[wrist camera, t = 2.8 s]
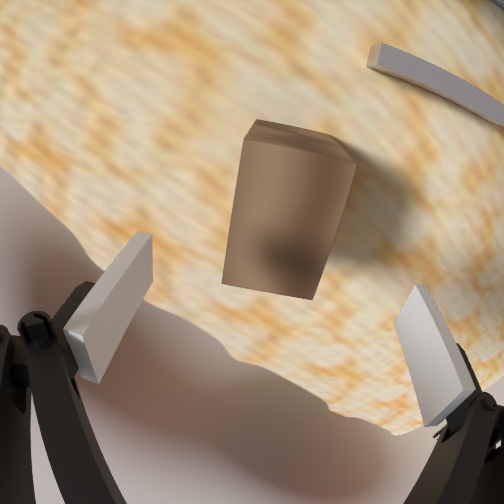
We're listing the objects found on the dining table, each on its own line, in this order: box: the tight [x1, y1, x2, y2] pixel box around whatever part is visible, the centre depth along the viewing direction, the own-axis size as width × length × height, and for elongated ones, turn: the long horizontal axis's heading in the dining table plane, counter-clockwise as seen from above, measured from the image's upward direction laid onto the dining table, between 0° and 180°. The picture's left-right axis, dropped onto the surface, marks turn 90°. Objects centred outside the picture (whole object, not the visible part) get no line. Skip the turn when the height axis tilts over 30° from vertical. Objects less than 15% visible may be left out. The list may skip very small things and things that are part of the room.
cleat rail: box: [367, 43, 504, 127], centre depth 19 cm, size 14×2×3 cm, turn 80°
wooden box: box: [222, 119, 357, 300], centre depth 23 cm, size 6×11×10 cm, turn 170°
